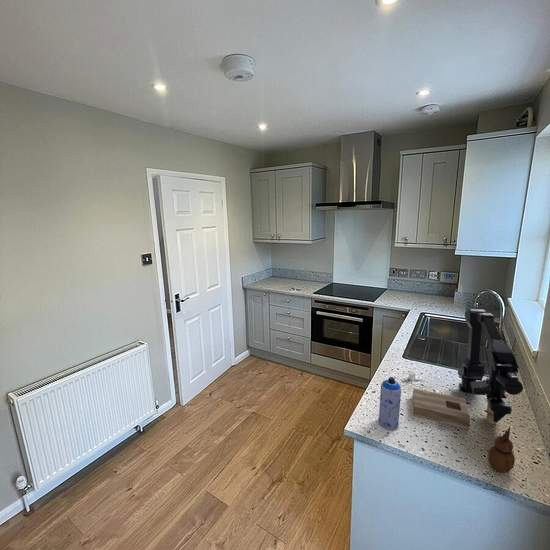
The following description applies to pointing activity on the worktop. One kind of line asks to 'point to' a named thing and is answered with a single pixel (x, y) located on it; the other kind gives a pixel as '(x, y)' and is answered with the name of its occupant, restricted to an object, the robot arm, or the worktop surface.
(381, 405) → the aerosol can
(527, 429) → the worktop surface
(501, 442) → the brown bottle gourd
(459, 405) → the walnut socket block
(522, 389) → the robot arm
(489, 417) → the oak peg
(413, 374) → the teacup and saucer
